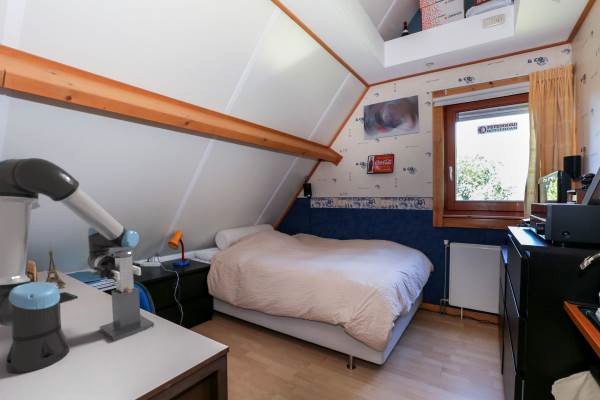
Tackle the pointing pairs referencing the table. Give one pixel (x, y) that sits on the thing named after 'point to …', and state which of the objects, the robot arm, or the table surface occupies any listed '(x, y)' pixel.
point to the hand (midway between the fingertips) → (129, 274)
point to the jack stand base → (125, 316)
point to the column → (124, 270)
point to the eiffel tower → (56, 278)
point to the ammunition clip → (31, 271)
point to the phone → (66, 297)
